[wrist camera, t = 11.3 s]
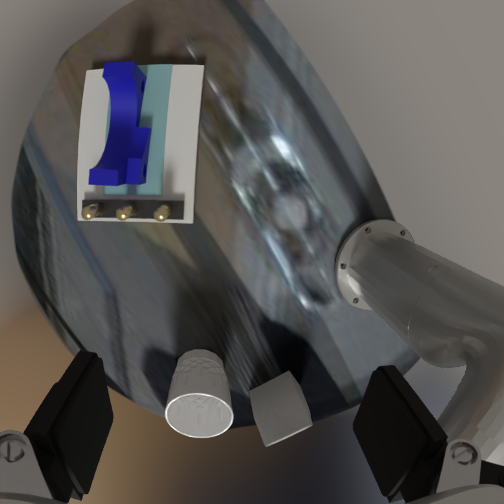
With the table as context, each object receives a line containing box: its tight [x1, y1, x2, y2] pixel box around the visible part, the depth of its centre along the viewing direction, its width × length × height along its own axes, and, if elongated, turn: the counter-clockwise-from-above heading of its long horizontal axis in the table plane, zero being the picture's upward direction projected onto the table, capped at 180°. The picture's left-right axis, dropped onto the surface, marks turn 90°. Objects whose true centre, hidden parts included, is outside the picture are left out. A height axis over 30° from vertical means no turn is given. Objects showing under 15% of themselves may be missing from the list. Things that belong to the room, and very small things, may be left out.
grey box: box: [249, 371, 313, 447], centre depth 39 cm, size 4×7×10 cm, turn 120°
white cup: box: [165, 349, 233, 438], centre depth 37 cm, size 8×8×10 cm
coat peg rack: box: [81, 199, 185, 222], centre depth 31 cm, size 12×2×4 cm, turn 86°
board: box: [77, 64, 204, 223], centre depth 32 cm, size 14×18×2 cm
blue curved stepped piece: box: [88, 62, 152, 186], centre depth 28 cm, size 12×4×6 cm, turn 173°
